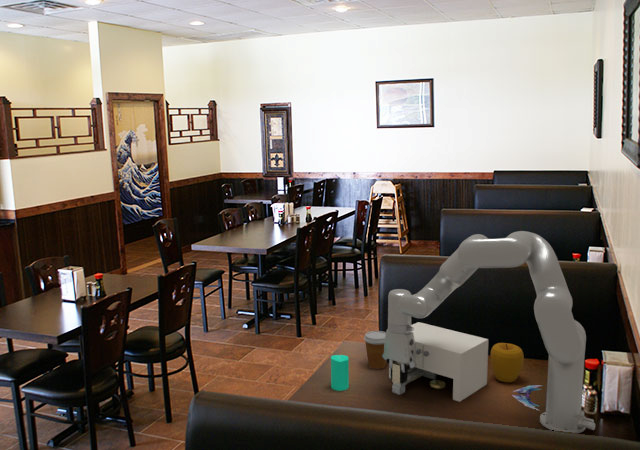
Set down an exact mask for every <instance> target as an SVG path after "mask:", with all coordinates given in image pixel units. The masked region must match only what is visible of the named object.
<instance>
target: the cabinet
mask: <svg viewBox="0 0 640 450" xmlns="http://www.w3.org/2000/svg"><path fill="white" fill-rule="evenodd" d="M411 327H413V328H414V330H413V331H411V332H413V334H414V338H415V346H416V360H415V361H416V364H417V366H415V367H413V368H410V369H409V370H408V374H409V373H411V372H413V371H415V370H417V369H418V368H420V369H423V370H426V371H429V372H433V373H436V375H439V376H443V377H447V378H450V379H451V380H452V379H453V380H452V381H453V382H452V383H453V385H452V400H453V401H456V402H459V403H460V402H462V401H463V400H465V399H467V398H468V397H469V396H472V395H473V394H474V393H476V392H477V391H478V390H480V389H482V388H484V387H485V386H487V384H488V361H489V338H484V337H481V336H477V335H473V334H468V333H464V332H459V331H455V330H452V329H447V328H444V327H441V326H436V325H431V324H428V323H424V322H418V321H417V322H416V323H413V324H411ZM409 364H410V360H409ZM388 379H390V380H391V368H389V367H388Z"/></svg>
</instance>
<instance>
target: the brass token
mask: <svg viewBox="0 0 640 450" xmlns="http://www.w3.org/2000/svg"><path fill="white" fill-rule="evenodd" d="M429 385H430V387H431V388H433V389H439V390H440V389H444V388H445V387H446V382H445V381H443V380H439V379H435V380H434V379H432V380H430V382H429Z"/></svg>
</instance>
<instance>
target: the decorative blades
mask: <svg viewBox="0 0 640 450" xmlns="http://www.w3.org/2000/svg"><path fill="white" fill-rule="evenodd" d="M539 387H542V385H540V384H539V385H537V384H535V385H534V384H533V385H527V386H525V387H520V388H519V389H516V390H513V391H512V393H517V394H512V395H511V396H512V397H513V398H515V400H517V401H518V402H520V404H521V403H522V404H523V405H524V406H525V407H528V408H530V409H533V410H535V409H536V411H539V409H538V408H536V407H539V405H538V404H536V403H534V402H532V401H531V400H532V398H531V397H530V394H531V393H532V392H534V391H540V390H541V388H539ZM531 395H532V394H531Z"/></svg>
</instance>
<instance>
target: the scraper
mask: <svg viewBox="0 0 640 450" xmlns="http://www.w3.org/2000/svg"><path fill="white" fill-rule="evenodd" d="M401 371H402V370H401V363H400V362H395V363H393V368H392V380H391V381H392V383H393V384H392V387H391V388H392V389H391V392H392V393H393V394H396V395H398V396H399V395H402V394H404V393H406V385H408V384H410V383H411V382H413V381H415V380H418V378H421V377H425V378H428V379H431V380H437V374H436V373H433V372H429V371H426V370H423V369H420V368H417V369H415V370H413V371H411V372H409V373H408V377H407V381H406V382H404V383H402V384H401V383H400V372H401Z"/></svg>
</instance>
